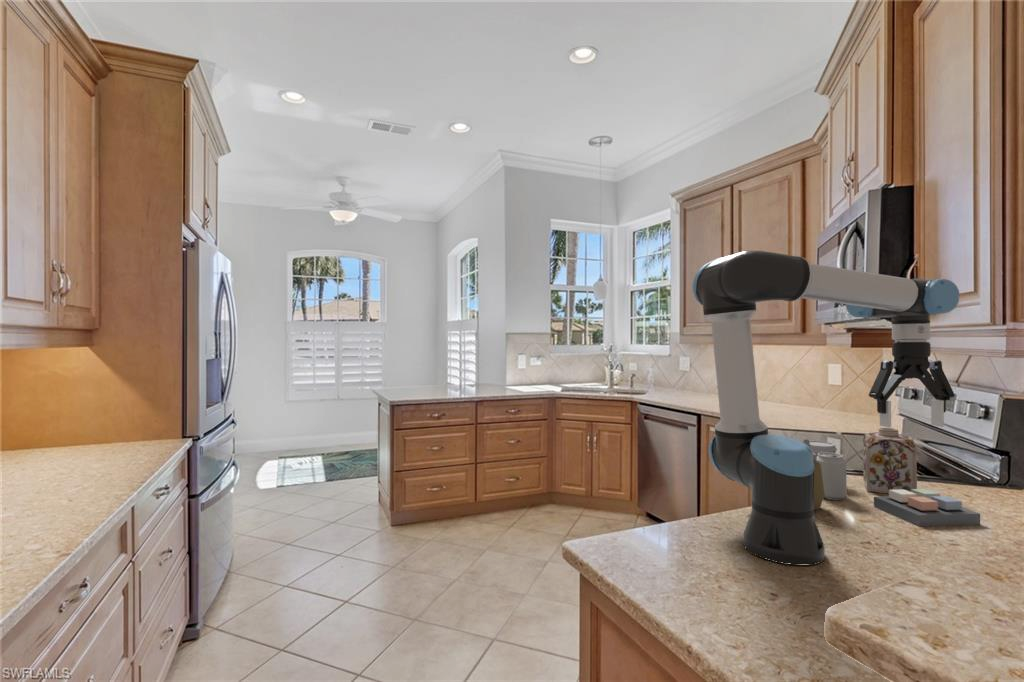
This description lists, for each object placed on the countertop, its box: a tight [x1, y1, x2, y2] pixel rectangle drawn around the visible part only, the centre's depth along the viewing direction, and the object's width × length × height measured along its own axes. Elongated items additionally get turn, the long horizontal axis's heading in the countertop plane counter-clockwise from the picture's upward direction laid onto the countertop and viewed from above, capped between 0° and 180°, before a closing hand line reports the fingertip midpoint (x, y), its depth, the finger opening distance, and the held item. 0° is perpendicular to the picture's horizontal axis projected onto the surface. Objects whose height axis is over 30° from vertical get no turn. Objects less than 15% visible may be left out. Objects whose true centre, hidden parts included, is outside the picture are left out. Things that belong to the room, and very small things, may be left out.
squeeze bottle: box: [802, 438, 825, 511], centre depth 132 cm, size 8×8×18 cm
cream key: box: [888, 489, 917, 504], centre depth 127 cm, size 4×4×3 cm
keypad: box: [873, 495, 981, 527], centre depth 124 cm, size 15×14×3 cm
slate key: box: [931, 495, 963, 512], centre depth 122 cm, size 4×4×3 cm
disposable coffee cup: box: [809, 440, 838, 456], centre depth 154 cm, size 10×10×12 cm
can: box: [816, 452, 848, 501], centre depth 140 cm, size 8×8×12 cm
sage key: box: [911, 488, 941, 499], centre depth 128 cm, size 4×4×3 cm
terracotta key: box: [908, 497, 938, 513], centre depth 121 cm, size 4×4×3 cm
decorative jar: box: [862, 427, 918, 495], centre depth 146 cm, size 12×12×18 cm
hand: (911, 426), depth 124 cm, fingers open, 13 cm apart
